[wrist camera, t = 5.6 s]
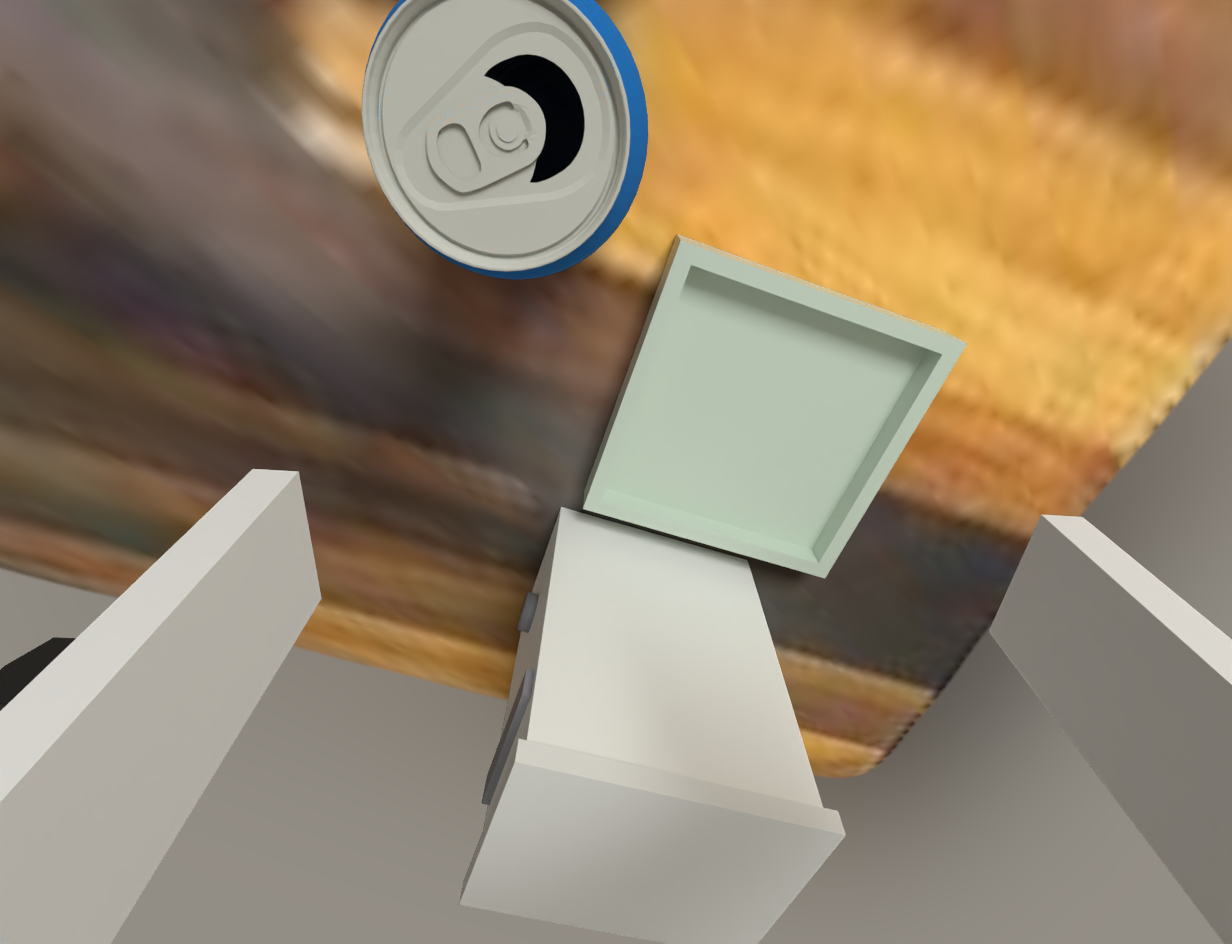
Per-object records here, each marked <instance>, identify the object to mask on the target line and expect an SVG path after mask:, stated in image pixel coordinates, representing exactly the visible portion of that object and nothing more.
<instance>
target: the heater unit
mask: <svg viewBox="0 0 1232 944" xmlns="http://www.w3.org/2000/svg"><path fill="white" fill-rule="evenodd" d="M517 630H519V631H521V634H520V639H519V645H518V650H517V655H516V660H515V666H514V671H513V676H512V681H511V687H510V692H509V697H508V702H507V708H506V713H505V718H504V723H503V729H502V734H501V739H500V742H499V745H498V748H497V751H496V753H495V756H494V758H493V761H492V764H491V767H490V769H489V772H488V775H487V780H486V784H485V789H484V795H483V799H482V804H487V805H488V807H487V812H486V818H485V823H484V828H483V832H482V835H481V837H480V840H479V843H478V845H477V848H476V850H475V853H474V856H473V858H472V861H471V863H470V866H469V869H468V871H467V874H466V876H465V879H464V882H463V888H462V892H461V897H460V902H459V905H462V906H467V907H473V908H478V909H484V910H489V911H494V912H500V913H505V914H511V915H516V916H521V917H527V918H532V919H537V920H543V921H548V922H554V923H559V924H564V925H570V926H575V927H581V928H586V929H591V930H597V931H602V932H608V933H613V934H619V935H624V936H629V937H635V938H640V939H646V940H651V941H656V942H662V943H667V944H758V943H759V941H760V940H761V939H762V938H763V936H764V935H765V934H766V933H767V931H768V930H769V929H770V928H771V927H772V925H773V924H774V923H775V922H776V921H777V919H778V918H779V917H780V916H781V914H782V913H783V912H784V911H785V909H786V908H787V907H788V906H789V905H790V903H791V902H792V901H793V900H794V898H795V897H796V896H797V895H798V893H799V892H800V891H801V890H802V889H803V887H804V886H805V885H806V884H807V882H808V881H809V880H810V879H811V877H812V876H813V875H814V874H815V873H816V871H817V870H818V869H819V868H820V866H821V865H822V864H823V863H824V861H825V860H826V859H827V858H828V857H829V855H830V854H831V853H832V852H833V850H834V849H835V848H836V847H837V845H838V844H839V843H840V842H841V840H842V839H843V838H844V837H845V836H846V834H845V832H844V828H843V825H842V823H841V819H840V817H839V813H838V811H835V810H830V809H826V808H823V806H822V803H821V799H820V796H819V793H818V790H817V786H816V783H815V780H814V776H813V773H812V770H811V767H810V763H809V760H808V757H807V753H806V750H805V747H804V744H803V740H802V737H801V734H800V731H799V727H798V724H797V721H796V717H795V714H794V711H793V708H792V704H791V701H790V698H789V695H788V691H787V688H786V685H785V681H784V678H783V675H782V672H781V668H780V665H779V662H778V659H777V655H776V652H775V649H774V645H773V642H772V639H771V636H770V632H769V629H768V626H767V623H766V619H765V616H764V613H763V609H762V606H761V603H760V600H759V596H758V593H757V590H756V587H755V583H754V580H753V577H752V573H751V570H750V567H749V564H748V560H745V559H741V558H738V557H734V556H731V555H727V554H724V553H720V552H717V551H713V550H710V549H706V548H703V547H699V546H696V545H692V544H689V543H685V542H682V541H678V540H675V539H671V538H668V537H664V536H661V535H658V534H654V533H651V532H647V531H644V530H640V529H637V528H633V527H630V526H626V525H623V524H619V523H616V522H612V521H609V520H605V519H602V518H598V517H595V516H591V515H588V514H584V513H581V512H577V511H574V510H570V509H567V508H563V507H561V509H560V512H559V515H558V518H557V520H556V523H555V526H554V529H553V532H552V535H551V538H550V541H549V543H548V546H547V549H546V552H545V555H544V558H543V561H542V564H541V567H540V569H539V572H538V575H537V578H536V581H535V584H534V587H533V590H532V592H529V591H528V592H527V594H526V597H525V600H524V603H523V607H522V610H521V614H520V618H519V622H518V626H517Z"/></svg>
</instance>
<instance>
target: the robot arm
mask: <svg viewBox="0 0 1232 944" xmlns="http://www.w3.org/2000/svg"><path fill="white" fill-rule="evenodd" d="M320 600H321V593H320V588H319V582H318V576H317V571H316V565H315V560H314V554H313V549H312V543H311V538H310V532H309V527H308V521H307V516H306V510H305V504H304V499H303V493H302V488H301V482H300V477H299V472H296V471H279V470H262V469H252V470H251V471H250V472H249V473H248V474H247V475H246V476H245V477H244V478H243V479H242V480H241V481H240V482H239V483H238V484H237V485H236V486H235V487H234V488H233V489H231V490H230V491H229V492H228V493H227V494H226V495H225V496H224V497H223V498H222V499H221V500H220V501H219V502H218V503H217V504H216V505H215V506H214V507H213V508H212V509H211V510H210V511H209V512H208V513H206V514H205V515H204V516H203V517H202V518H201V519H200V520H199V521H198V522H197V523H196V524H195V525H194V526H193V527H192V528H191V529H190V530H189V531H188V532H187V533H186V534H185V535H184V536H182V537H181V538H180V539H179V540H178V541H177V542H176V543H175V544H174V545H173V546H172V547H171V548H170V549H169V550H168V551H167V552H166V553H165V554H164V555H163V556H162V557H161V558H160V559H158V560H157V561H156V562H155V563H154V564H153V565H152V566H151V567H150V568H149V569H148V570H147V571H146V572H145V573H144V574H143V575H142V576H141V577H140V578H139V579H138V580H137V581H136V582H135V583H133V584H132V585H131V586H130V587H129V588H128V589H127V590H126V591H125V592H124V593H123V594H122V595H121V596H120V597H119V598H118V599H117V600H116V601H115V602H114V603H113V604H112V605H111V606H110V607H108V609H106V610H105V611H104V612H103V613H102V614H101V615H100V616H99V617H98V618H97V619H96V620H95V621H94V622H93V623H92V624H91V625H90V626H89V627H88V628H87V629H85V631H83V632H82V633H81V634H80V635H79V636H78V637H77V638H52V639H51V640H49V641H47V642H45V643H44V644H42V645H40V646H38V647H37V648H35V649H33V650H31V651H30V652H28V653H26V654H25V655H23V656H21V657H19V658H18V659H16V660H14V661H12V662H11V663H9V664H7V665H5V666H4V667H3V668H2V669H1V670H0V944H111V943H112V941H113V939H114V937H115V936H116V934H117V933H118V931H119V930H120V928H121V926H122V925H123V923H124V921H125V920H126V918H127V916H128V914H129V913H130V911H131V910H132V908H133V907H134V905H135V903H136V902H137V900H138V898H139V897H140V895H141V893H142V892H143V890H144V889H145V887H146V885H147V883H148V882H149V880H150V878H151V877H152V875H153V874H154V872H155V871H156V869H157V867H158V866H159V864H160V862H161V861H162V859H163V857H164V856H165V854H166V852H167V851H168V849H169V848H170V846H171V844H172V842H173V841H174V839H175V838H176V836H177V834H178V833H179V831H180V830H181V828H182V826H183V824H184V823H185V821H186V820H187V818H188V816H189V815H190V813H191V811H192V810H193V808H194V807H195V805H196V803H197V802H198V800H199V798H200V797H201V795H202V793H203V792H204V790H205V788H206V787H207V785H208V784H209V782H210V780H211V779H212V777H213V775H214V774H215V772H216V771H217V769H218V767H219V766H220V764H221V762H222V760H223V759H224V757H225V756H226V754H227V753H228V751H229V749H230V748H231V746H232V744H233V743H234V741H235V739H236V738H237V736H238V735H239V733H240V731H241V730H242V728H243V726H244V725H245V723H246V721H247V720H248V718H249V716H250V715H251V713H252V712H253V710H254V708H255V707H256V705H257V703H258V702H259V700H260V698H261V697H262V695H263V693H264V692H265V690H266V689H267V687H268V685H269V684H270V682H271V680H272V679H273V677H274V675H275V674H276V672H277V670H278V669H279V667H280V665H281V664H282V662H283V661H284V659H285V657H286V656H287V654H288V653H289V651H290V649H291V648H292V646H293V644H294V643H295V641H296V639H297V638H298V636H299V635H300V633H301V631H302V630H303V628H304V626H305V625H306V623H307V621H308V620H309V618H310V617H311V615H312V613H313V612H314V610H315V608H316V607H317V605H318V603H319V602H320ZM989 633H990V634H991V635H992V637H993V638H994V639H995V641H996V642H997V643H998V645H999V646H1000V647H1001V649H1002V650H1003V651H1004V653H1005V654H1006V655H1007V657H1008V658H1009V659H1010V661H1011V662H1012V663H1013V665H1014V666H1015V667H1016V669H1017V670H1018V671H1019V673H1020V674H1021V675H1022V676H1023V678H1024V679H1025V680H1026V682H1027V683H1028V684H1029V686H1030V687H1031V688H1032V689H1033V691H1034V692H1035V694H1036V695H1037V696H1038V698H1039V699H1040V700H1041V701H1042V703H1043V704H1044V706H1045V707H1046V708H1047V709H1048V711H1049V712H1050V714H1051V715H1052V716H1053V718H1054V719H1055V720H1056V722H1057V723H1058V724H1059V726H1060V727H1061V728H1062V730H1063V731H1064V732H1065V734H1066V735H1067V736H1068V737H1069V739H1070V740H1071V741H1072V743H1073V744H1074V745H1075V747H1076V748H1077V749H1078V751H1079V752H1080V753H1081V755H1082V756H1083V757H1084V759H1085V760H1086V761H1087V762H1088V764H1089V765H1090V767H1091V768H1092V769H1093V771H1094V772H1095V773H1096V775H1097V776H1098V777H1099V778H1100V780H1101V781H1102V783H1103V784H1104V785H1105V787H1106V788H1107V789H1108V791H1109V792H1110V793H1111V795H1112V796H1113V797H1114V798H1115V800H1116V801H1117V802H1118V804H1119V805H1120V806H1121V808H1122V809H1123V810H1124V812H1125V813H1126V814H1127V815H1128V817H1129V818H1130V820H1131V821H1132V822H1133V823H1134V825H1135V826H1136V828H1137V829H1138V830H1139V832H1140V833H1141V834H1142V836H1143V837H1144V838H1145V839H1146V841H1147V842H1148V844H1149V845H1150V846H1151V848H1152V849H1153V850H1154V851H1155V853H1156V854H1157V856H1158V857H1159V858H1160V859H1161V861H1162V862H1163V863H1164V865H1165V866H1166V867H1167V869H1168V870H1169V871H1170V873H1171V874H1172V875H1173V877H1174V878H1175V879H1176V881H1177V882H1178V883H1179V885H1180V886H1181V887H1182V889H1183V890H1184V891H1185V893H1186V894H1187V895H1188V897H1189V898H1190V899H1191V901H1192V902H1193V903H1194V905H1195V906H1196V907H1197V909H1198V910H1199V911H1200V913H1201V914H1202V915H1203V917H1204V918H1205V919H1206V920H1207V922H1208V923H1209V924H1210V926H1211V927H1212V928H1213V930H1214V931H1215V932H1216V934H1217V935H1218V936H1219V938H1220V939H1221V940H1222V942H1223V943H1224V944H1232V640H1231V639H1230V638H1229V637H1228V636H1227V635H1225V634H1224V633H1223V632H1222V631H1221V630H1219V629H1218V628H1217V627H1215V626H1214V625H1213V624H1212V623H1211V622H1209V621H1208V620H1207V619H1206V618H1205V617H1203V616H1202V615H1201V614H1200V613H1199V612H1197V611H1196V610H1195V609H1194V608H1192V607H1191V606H1190V605H1189V604H1188V603H1186V602H1185V601H1184V600H1183V599H1181V598H1180V597H1179V596H1178V595H1177V594H1175V593H1174V592H1173V591H1172V590H1171V589H1169V588H1168V587H1167V586H1166V585H1165V584H1163V583H1162V582H1161V581H1160V580H1158V579H1157V578H1156V577H1155V576H1154V575H1152V574H1151V573H1150V572H1149V571H1148V570H1146V569H1145V568H1144V567H1143V566H1141V565H1140V564H1139V563H1138V562H1137V561H1135V560H1134V559H1133V558H1132V557H1130V556H1129V555H1128V554H1127V553H1126V552H1124V551H1123V550H1122V549H1121V548H1120V547H1118V546H1117V545H1116V544H1115V543H1113V542H1112V541H1111V540H1110V539H1109V538H1107V537H1106V536H1105V535H1104V534H1103V533H1101V532H1100V531H1099V530H1098V529H1096V528H1095V527H1094V526H1093V525H1092V524H1090V523H1089V522H1088V521H1086V520H1085V519H1084V518H1083V517H1073V516H1055V515H1041V517H1040V519H1039V521H1038V523H1037V526H1036V528H1035V530H1034V532H1033V534H1032V537H1031V539H1030V541H1029V543H1028V546H1027V548H1026V550H1025V552H1024V554H1023V557H1022V559H1021V561H1020V563H1019V566H1018V568H1017V570H1016V572H1015V574H1014V577H1013V579H1012V581H1011V583H1010V586H1009V588H1008V590H1007V592H1006V594H1005V597H1004V599H1003V601H1002V603H1001V606H1000V608H999V610H998V612H997V614H996V617H995V619H994V621H993V623H992V626H991V628H990V630H989Z"/></svg>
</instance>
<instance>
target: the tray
mask: <svg viewBox="0 0 1232 944" xmlns="http://www.w3.org/2000/svg"><path fill="white" fill-rule="evenodd" d="M966 345H967V343H965V342H963V341H962V340H960V339H958V338H957V337H955V336H954V335H952V334H950V333H949V332H947V331H944V330H941V329H939V328H936V327H933V326H930V325H928V324H925V323H922V322H919V321H917V320H914V319H911V318H908V317H905V316H903V315H900V314H897V313H894V312H892V311H889V310H886V309H883V308H881V307H878V306H875V305H872V304H870V303H867V302H864V301H861V300H858V299H856V298H853V297H850V296H847V295H845V294H842V293H839V292H836V291H834V290H831V289H828V288H825V287H823V286H820V285H817V284H814V283H811V282H809V281H806V280H803V279H800V278H798V277H795V276H792V275H789V274H787V273H784V272H781V271H778V270H776V269H773V268H770V267H767V266H765V265H762V264H759V263H756V262H753V261H751V260H748V259H745V258H742V257H740V256H737V255H734V254H731V253H729V252H726V251H723V250H720V249H718V248H715V247H712V246H709V245H706V244H704V243H701V242H698V241H695V240H693V239H690V238H687V237H684V236H682V235H679V234H677V235H676V238H675V240H674V243H673V246H672V249H671V251H670V254H669V257H668V260H667V262H666V265H665V268H664V271H663V274H662V276H661V279H660V282H659V285H658V287H657V290H656V293H655V296H654V299H653V301H652V304H651V307H650V310H649V312H648V315H647V318H646V321H645V323H644V326H643V329H642V332H641V335H640V337H639V340H638V343H637V346H636V348H635V351H634V354H633V357H632V360H631V362H630V365H629V368H628V371H627V373H626V376H625V379H624V382H623V384H622V387H621V390H620V393H619V396H618V398H617V401H616V404H615V407H614V409H613V412H612V415H611V418H610V420H609V423H608V426H607V429H606V432H605V434H604V437H603V440H602V443H601V445H600V448H599V451H598V454H597V457H596V459H595V462H594V465H593V468H592V470H591V473H590V476H589V479H588V481H587V484H586V487H585V490H584V501H583V509H585V510H588V511H592V512H595V513H599V514H602V515H606V516H609V517H613V518H616V519H620V520H623V521H627V522H630V523H634V524H637V525H641V526H644V527H648V528H651V529H655V530H658V531H662V532H665V533H669V534H672V535H676V536H679V537H683V538H686V539H689V540H693V541H696V542H700V543H703V544H707V545H710V546H714V547H717V548H721V549H724V550H728V551H731V552H735V553H738V554H742V555H745V556H749V557H752V558H756V559H759V560H763V561H766V562H770V563H773V564H777V565H780V566H784V567H787V568H791V569H794V570H797V571H801V572H804V573H808V574H811V575H815V576H818V577H822V578H825V577H826V576H827V574H828V573H829V571H830V569H831V568H832V566H833V564H834V563H835V561H836V559H837V558H838V556H839V554H840V553H841V551H842V549H843V548H844V546H845V544H846V543H847V541H848V539H849V538H850V536H851V535H852V533H853V531H854V530H855V528H856V526H857V525H858V523H859V521H860V520H861V518H862V516H863V515H864V513H865V511H866V510H867V508H868V506H869V505H870V503H871V502H872V500H873V498H874V497H875V495H876V493H877V492H878V490H879V488H880V487H881V485H882V483H883V482H884V480H885V478H886V477H887V475H888V473H889V472H890V470H891V469H892V467H893V465H894V464H895V462H896V460H897V459H898V457H899V455H900V454H901V452H902V450H903V449H904V447H905V445H906V444H907V442H908V440H909V439H910V437H911V435H912V434H913V432H914V431H915V429H916V427H917V426H918V424H919V422H920V421H921V419H922V417H923V416H924V414H925V412H926V411H927V409H928V407H929V406H930V404H931V402H932V401H933V399H934V398H935V396H936V394H937V393H938V391H939V389H940V388H941V386H942V384H943V383H944V381H945V379H946V378H947V376H948V374H949V373H950V371H951V369H952V368H953V366H954V365H955V363H956V361H957V360H958V358H959V356H960V355H961V353H962V351H963V350H964V348H965V346H966Z"/></svg>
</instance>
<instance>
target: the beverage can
mask: <svg viewBox="0 0 1232 944" xmlns="http://www.w3.org/2000/svg"><path fill="white" fill-rule="evenodd" d="M362 122H363V133H364V138H365V143H366V148H367V152H368V156H369V159H370V162H371V165H372V168H373V171H374V173H375V176H376V178H377V180H378V182H379V184H380V186H381V189H382V191H383V192H384V194H385V196H386V197H387V199H388V201H389V202H390V204H391V206H392V207H393V209H394V210H395V212H396V213H397V214H398V215H399V217H400V218H401V219H402V221H403V222H404V223H405V225H406V226H407V227H408V228H409V229H410V230H411V231H412V232H413V233H414V234H415V235H416V236H417V237H418V238H419V239H420V240H421V241H422V242H423V243H424V244H426V245H427V246H428V247H429V248H430V249H432V250H433V251H434V252H436V253H437V254H439V255H440V256H442V257H443V258H445V259H447V260H448V261H450V262H452V263H454V264H456V265H458V266H460V267H462V268H464V269H467V270H469V271H472V272H475V273H478V274H481V275H485V276H490V277H495V278H501V279H514V280H518V279H533V278H538V277H543V276H548V275H551V274H554V273H557V272H560V271H563V270H565V269H567V268H569V267H571V266H573V265H575V264H577V263H579V262H581V261H582V260H584V259H585V258H587V257H588V256H589V255H591V254H592V253H594V252H595V251H596V250H597V249H598V248H599V247H600V246H601V245H603V244H604V243H605V242H606V241H607V240H608V239H609V237H610V236H611V235H612V234H613V233H614V231H615V230H616V229H617V228H618V226H619V225H620V223H621V222H622V220H623V219H624V217H625V216H626V214H627V212H628V211H629V209H630V206H631V204H632V202H633V200H634V198H635V196H636V194H637V191H638V188H639V185H640V182H641V179H642V175H643V170H644V166H645V161H646V155H647V143H648V115H647V108H646V101H645V94H644V90H643V87H642V83H641V79H640V75H639V72H638V69H637V67H636V64H635V62H634V59H633V57H632V54H631V52H630V50H629V48H628V46H627V44H626V42H625V41H624V39H623V37H622V35H621V33H620V32H619V30H618V29H617V27H616V26H615V25H614V23H613V22H612V20H611V19H610V18H609V16H608V15H607V13H606V12H605V11H604V10H603V9H602V8H601V7H600V6H599V5H598V4H597V3H596V2H595V1H594V0H400V1H399V2H398V3H397V4H396V5H395V7H394V8H393V9H392V10H391V12H390V13H389V15H388V16H387V18H386V20H385V21H384V23H383V25H382V26H381V28H380V30H379V32H378V34H377V37H376V39H375V42H374V44H373V46H372V49H371V52H370V56H369V59H368V63H367V67H366V71H365V78H364V85H363V92H362Z"/></svg>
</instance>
